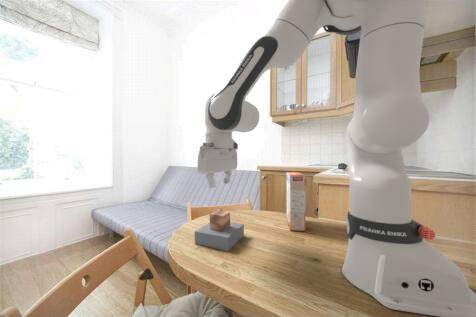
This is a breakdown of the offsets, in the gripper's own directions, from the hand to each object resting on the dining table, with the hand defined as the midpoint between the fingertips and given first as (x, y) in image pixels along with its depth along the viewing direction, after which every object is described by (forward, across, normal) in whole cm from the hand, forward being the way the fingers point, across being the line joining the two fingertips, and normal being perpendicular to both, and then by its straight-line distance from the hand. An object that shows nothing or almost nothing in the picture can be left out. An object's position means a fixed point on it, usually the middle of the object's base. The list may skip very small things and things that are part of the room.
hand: (220, 185), depth 64 cm
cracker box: (+19, +24, -20) cm, 37 cm away
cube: (+14, 0, 0) cm, 14 cm away
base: (+18, 0, 0) cm, 18 cm away
